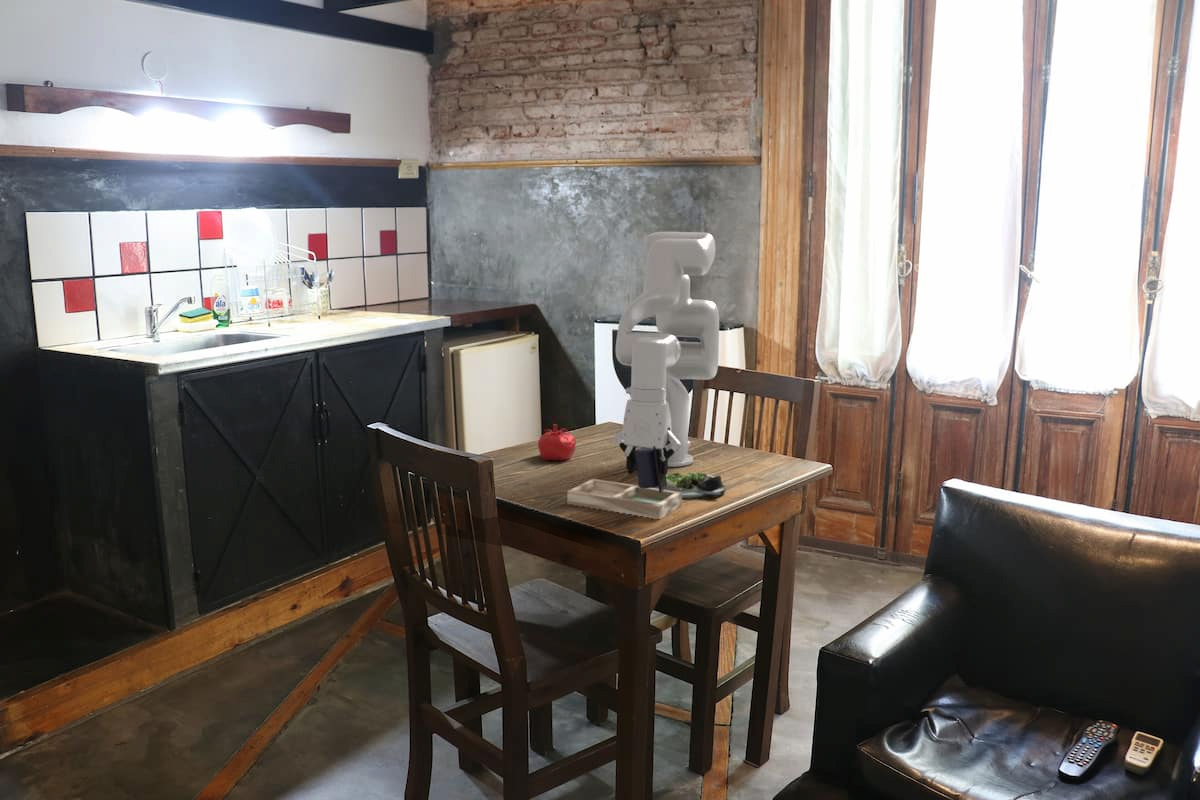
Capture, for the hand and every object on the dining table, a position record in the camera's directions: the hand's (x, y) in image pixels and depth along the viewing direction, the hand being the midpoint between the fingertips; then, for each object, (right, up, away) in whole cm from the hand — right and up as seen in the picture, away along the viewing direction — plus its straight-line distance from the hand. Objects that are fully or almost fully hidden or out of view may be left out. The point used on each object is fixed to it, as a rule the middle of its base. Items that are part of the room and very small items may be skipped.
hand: (646, 474), depth 218 cm
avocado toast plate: (+11, -5, +17) cm, 21 cm away
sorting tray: (-5, -7, +4) cm, 9 cm away
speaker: (+1, -3, 0) cm, 3 cm away
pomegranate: (-22, +1, +44) cm, 49 cm away
